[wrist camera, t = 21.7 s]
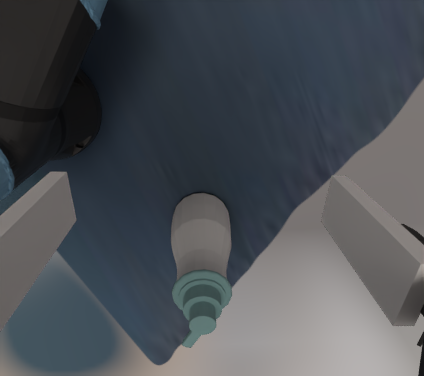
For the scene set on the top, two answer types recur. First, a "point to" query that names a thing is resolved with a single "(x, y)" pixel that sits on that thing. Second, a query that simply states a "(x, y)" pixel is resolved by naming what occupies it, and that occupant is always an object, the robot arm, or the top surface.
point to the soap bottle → (201, 262)
